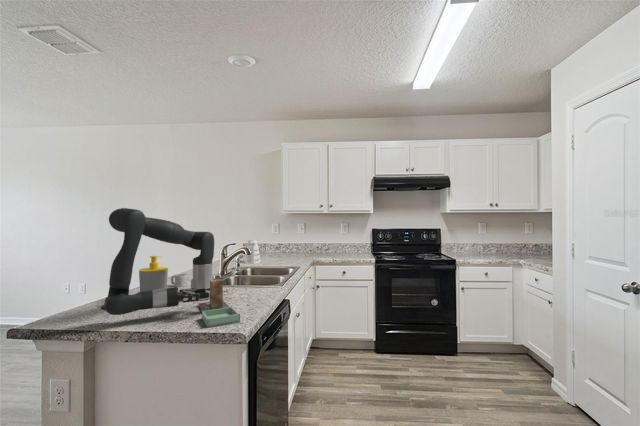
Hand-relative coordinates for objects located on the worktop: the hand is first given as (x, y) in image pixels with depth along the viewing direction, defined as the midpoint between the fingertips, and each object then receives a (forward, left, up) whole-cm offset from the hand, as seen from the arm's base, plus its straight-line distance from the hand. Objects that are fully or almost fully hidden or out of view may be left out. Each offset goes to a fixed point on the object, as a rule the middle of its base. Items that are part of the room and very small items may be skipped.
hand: (207, 292), depth 136 cm
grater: (-51, +142, -8) cm, 151 cm away
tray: (+12, -9, -8) cm, 17 cm away
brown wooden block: (+3, +3, -7) cm, 8 cm away
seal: (-45, -4, -9) cm, 46 cm away
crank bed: (0, +5, -8) cm, 10 cm away
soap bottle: (-40, +14, -8) cm, 43 cm away
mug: (-48, +42, -8) cm, 64 cm away
